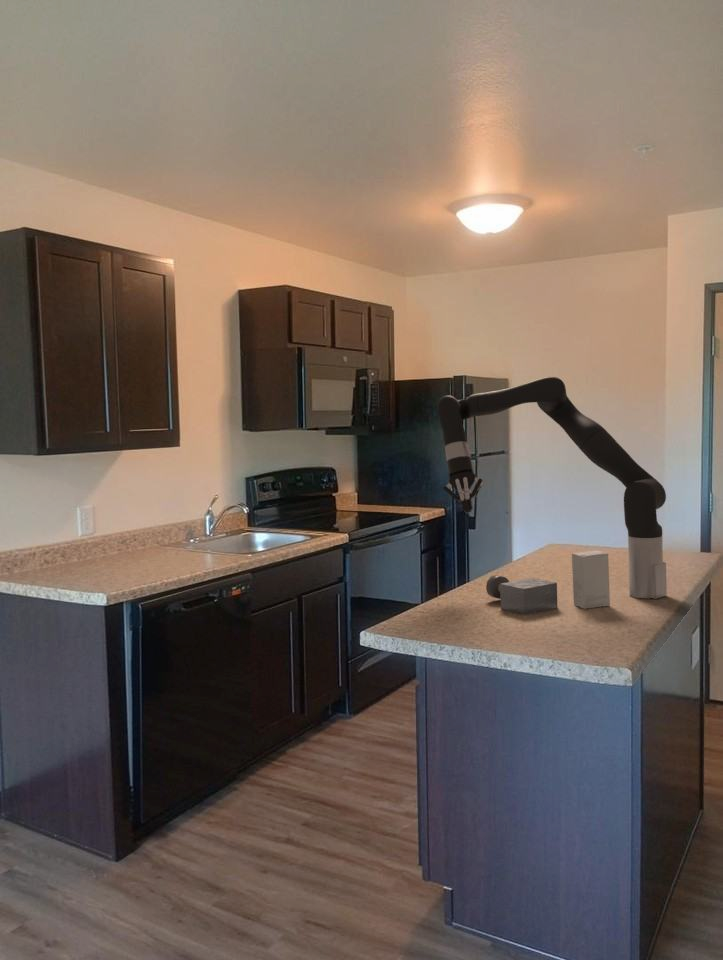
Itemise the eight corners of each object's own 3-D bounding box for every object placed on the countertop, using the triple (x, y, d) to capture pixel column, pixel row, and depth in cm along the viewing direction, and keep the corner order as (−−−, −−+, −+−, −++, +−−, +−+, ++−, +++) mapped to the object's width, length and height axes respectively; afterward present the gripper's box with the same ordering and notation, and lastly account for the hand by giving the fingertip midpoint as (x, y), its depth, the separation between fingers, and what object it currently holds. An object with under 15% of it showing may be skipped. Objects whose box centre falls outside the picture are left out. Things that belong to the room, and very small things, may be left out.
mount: (500, 608, 216) (500, 583, 215) (533, 602, 222) (532, 577, 222) (524, 614, 208) (523, 588, 207) (557, 608, 214) (556, 582, 213)
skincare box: (599, 602, 219) (597, 549, 218) (611, 606, 213) (609, 552, 212) (572, 605, 216) (570, 552, 215) (583, 609, 211) (582, 555, 210)
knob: (486, 598, 225) (485, 576, 225) (503, 595, 229) (502, 573, 228) (512, 605, 216) (511, 582, 216) (529, 601, 219) (528, 579, 219)
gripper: (481, 456, 246) (491, 509, 242) (441, 465, 250) (450, 518, 246) (476, 451, 239) (487, 506, 235) (435, 461, 243) (444, 515, 239)
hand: (468, 512), depth 241 cm, fingers closed
